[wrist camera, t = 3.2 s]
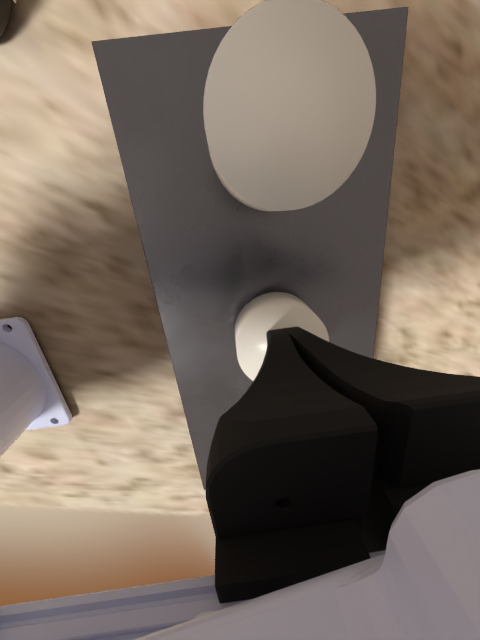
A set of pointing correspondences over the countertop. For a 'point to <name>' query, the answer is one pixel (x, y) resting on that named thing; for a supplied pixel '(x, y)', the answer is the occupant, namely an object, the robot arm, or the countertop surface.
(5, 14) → the battery charger
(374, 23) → the mount plate
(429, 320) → the countertop surface
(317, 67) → the knob
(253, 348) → the knob mid
